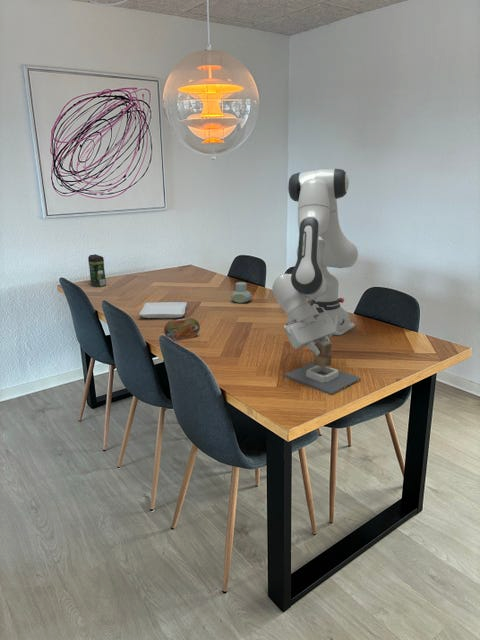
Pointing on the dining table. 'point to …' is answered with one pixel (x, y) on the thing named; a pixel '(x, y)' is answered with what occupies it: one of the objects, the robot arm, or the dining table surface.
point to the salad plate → (163, 310)
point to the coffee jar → (97, 270)
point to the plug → (323, 353)
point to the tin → (181, 329)
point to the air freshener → (241, 293)
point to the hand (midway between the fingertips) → (324, 351)
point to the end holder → (322, 378)
